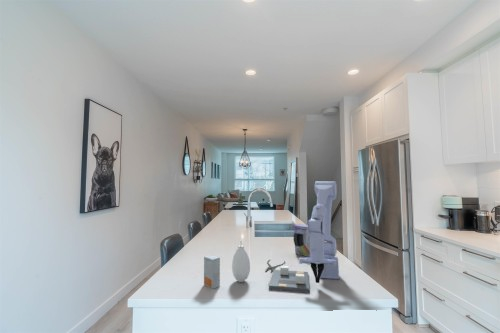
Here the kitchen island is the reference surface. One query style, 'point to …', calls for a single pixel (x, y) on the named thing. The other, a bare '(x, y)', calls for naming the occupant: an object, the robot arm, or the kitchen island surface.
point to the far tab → (284, 270)
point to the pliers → (272, 267)
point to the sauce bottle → (241, 264)
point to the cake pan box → (301, 240)
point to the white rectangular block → (300, 278)
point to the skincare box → (212, 271)
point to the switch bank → (288, 281)
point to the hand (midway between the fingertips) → (317, 282)
